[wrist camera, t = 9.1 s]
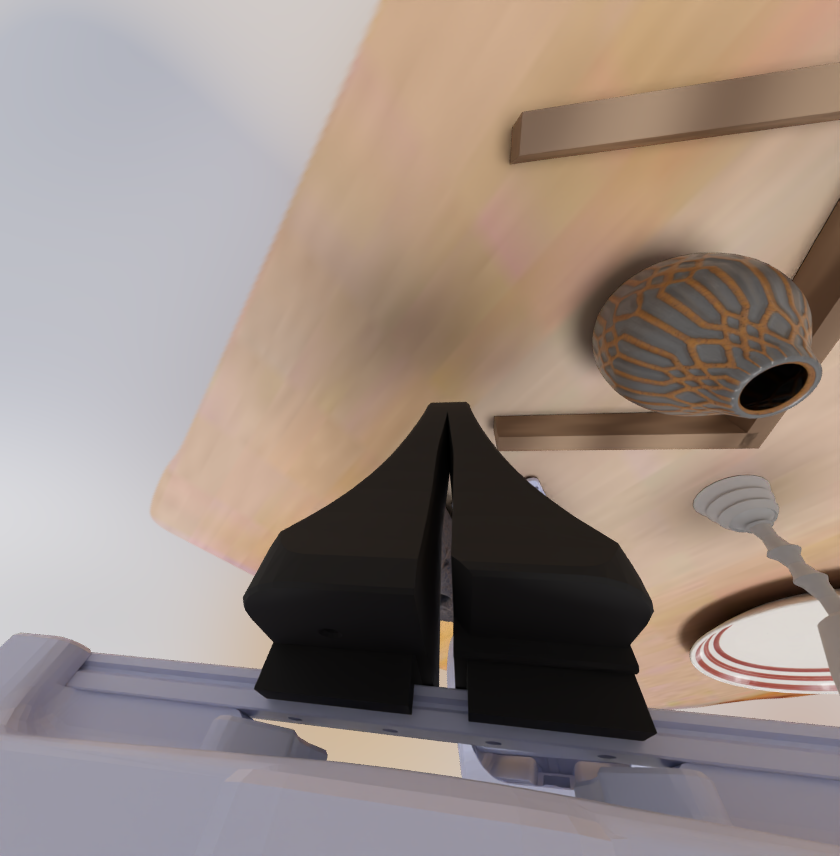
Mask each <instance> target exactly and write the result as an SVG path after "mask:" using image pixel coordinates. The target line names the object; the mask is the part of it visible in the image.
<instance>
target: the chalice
mask: <svg viewBox="0 0 840 856" xmlns="http://www.w3.org/2000/svg"><path fill="white" fill-rule="evenodd" d="M693 507H694V509H695V510H696V512H698V513H700V514H701V515H704V516H706V517H708V518H709V519H710V520H712V521H713V522H716V523H718V524H720V526H722V527H724V528H726V529H729V530H733V531H737V532H748V533H753V534H754V535H756V536H757V537H759V538H760V539H761V540H762V541H763V543H764V544H765V546H766V548H767V549H768V551H767V557H768V558H770V559H774V560H777V561H779V562H780V563H782V564H783V565H785V566H786V567H788V569H789V571H790V572H791V574H792V576H793V583H794V584H795V585H797V586H799V587H802V588H804V589H805V590H806V591H807V592H809V593H810V594H811V595H812V596H814V597H815V598H816V599H817V600H819V601H820V603H821V604H822V606H823V607H824V609H825V610H826V612H827V613H828V615H829V616H827V617H825V618H824V619H823V620H822V621H820V622H819V623H818V625H817V627H818V631H819V634H820V638H821V641H822V645H823V648H824V652H825V656H826V659H827V663H828V666H829V670H830V673H831V676H832V678H833V681H834V683H835V685H836V687H837V690H838V692H839V694H840V597H839V596H838V594H837V593H836V592H835V590H834V589H833V587H832V586H831V585H830V583H829V578H828V575H826V574H824V573H822V572H819V571H817V570H815V569H814V568H812V567H811V566H809V565H808V564H806V563H805V561H804V560H803V558H802V556H801V555H800V554H801V547H800V546H798V545H794V544H790V543H788V542H787V541H785V540H784V539H782V538H781V537H779V536H778V535H777V534H776V532H775V531H774V529H773V528H772V526H773V524H774V521H775V520H776V519H777V517H778V513H779V506H778V504H777V503H776V501H775V496H774V494H773V493H772V492H771V486H770V484H769V482H768V481H767V480H765V479H764V478H762V477H758V476H754V475H740V476H735V477H730V478H726V479H723V480H720V481H718V482H715V483H713V484H711V485H710V486H708V487H706V488H705V489H703V490H702V491H701V492H700V493H699V494H698V495H697V496H696V498H695V500H694V504H693Z"/></svg>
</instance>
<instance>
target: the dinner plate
mask: <svg viewBox="0 0 840 856" xmlns="http://www.w3.org/2000/svg"><path fill="white" fill-rule="evenodd" d="M834 590H835V592H836V593H837V594H838V596H839V597H840V589H834ZM827 616H829V615H828V613H827V612H826V610H825V609H824V607H823V606H822V604H821V603H820V601H819V600H817V599H816V598H815V597H814V596H812V595H811V594H810V593H805V594H800V595H795V596H790V597H786V598H782V599H779V600H775V601H772V602H769V603H765V604H763V605H760V606H757V607H755V608H752V609H750V610H748V611H746V612H744V613H742V614H740V615H738V616H735V617H733V618H731V619H729V620H727V621H725V622H724V623H722V624H720V625H719V626H717V627H716V628H714V629H712V630H711V631H709V632H707V633H706V634H705V635H703V636H702V637H700V638H699V639H698V640H697V641H696V642H695V643H694V645H693V646H692V648H691V650H690V654H689V655H690V660H691V662H692V664H693V665H694V667H695V668H696V669H698V670H699V671H700V672H702V673H703V674H705V675H707V676H709V677H711V678H713V679H715V680H718V681H721V682H724V683H728V684H731V685H735V686H740V687H745V688H750V689H757V690H765V691H774V692H784V693H804V694H839V692H838V690H837V687H836V685H835V683H834V681H833V678H832V676H831V673H830V670H829V666H828V663H827V659H826V656H825V652H824V648H823V645H822V641H821V638H820V634H819V631H818V627H817V625H818V623H819V622H820V621H822V620H823V619H824V618H825V617H827Z"/></svg>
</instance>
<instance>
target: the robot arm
mask: <svg viewBox="0 0 840 856" xmlns="http://www.w3.org/2000/svg"><path fill="white" fill-rule="evenodd" d="M449 474H450V480H451V491H452V501H453V502H452V508H453V511H452V542H451V568H452V593H453V637H452V639H451V641H450V645H449V651H448V661H447V684H448V688H444V687H439V653H440V599H441V558H442V533H443V522H444V514H445V506H446V498H447V490H448V482H449ZM535 486H536V487H535ZM243 603H244V608H245V610H246V612H247V613H248V615H249V616H250V617H251V618H252V620H253V621H254V622H255V623H256V624H257V625H258V626H259V627H260V628H261V629H262V630H263V632H264V633H265V634H266V635H267V636H268V637H269V638H270V639H271V640H272V641H273V645H272V647H271V649H270V651H269V654H268V656H267V659H266V661H265V663H264V666H263V668H262V669H254V668H244V667H234V666H224V665H213V664H204V663H194V662H183V661H174V660H164V659H154V658H143V657H134V656H124V655H114V654H104V653H94V652H91V651H90V649H89V648H87V647H85V646H84V645H82V644H80V643H78V642H75V641H73V640H70V639H67V638H63V637H58V636H51V635H40V634H39V635H38V634H29V633H18V634H15V635H13V636H12V637H11V638H10V639H8V640H7V641H6V643H4V644H3V645H2V646H1V647H0V856H840V727H835V726H825V725H815V724H805V723H795V722H784V721H775V720H765V719H755V718H745V717H735V716H724V715H714V714H705V713H695V712H685V711H675V710H665V709H655V708H647V705H646V703H645V700H644V697H643V695H642V692H641V690H640V687H639V685H638V682H637V680H636V677H635V674H638V673H639V665H638V663H637V660H636V658H635V656H634V653H633V651H632V648H631V646H630V644H631V643H632V642H633V641H634V640H635V638H636V637H637V636H638V635H639V634H640V632H641V631H642V630H643V629H644V628H645V627H646V625H647V624H648V622H649V620H650V618H651V616H652V614H653V612H654V610H653V604H652V600H651V598H650V596H649V594H648V593H647V591H646V589H645V587H644V585H643V583H642V581H641V579H640V577H639V575H638V574H637V572H636V570H635V569H634V567H633V565H632V564H631V562H630V561H629V559H628V558H627V556H626V555H625V553H624V552H623V550H622V549H621V547H620V546H619V544H618V543H617V542H615V541H614V540H612V539H610V538H609V537H607V536H605V535H604V534H602V533H600V532H599V531H597V530H595V529H594V528H592V527H591V526H589V525H587V524H586V523H584V522H582V521H581V520H579V519H577V518H576V517H574V516H573V515H571V514H570V513H569V512H567V511H566V510H564V509H563V508H561V507H560V506H559V505H557V504H556V503H554V502H553V501H552V500H550V499H549V498H548V497H547V496H546V494H545V492H544V490H543V488H542V486H541V484H540V482H539V480H538V479H537V478H528V479H525V478H524V477H523V476H522V475H521V474H520V473H518V472H517V471H516V470H515V469H514V468H513V466H512V465H511V464H510V463H509V462H508V461H507V460H506V459H505V458H504V457H503V456H502V455H501V453H500V452H499V451H498V450H497V449H496V447H495V446H494V445H493V444H492V442H491V441H490V440H489V438H488V437H487V435H486V434H485V432H484V431H483V430H482V428H481V427H480V425H479V423H478V422H477V420H476V418H475V417H474V415H473V413H472V411H471V408H470V405H469V404H468V403H467V402H449V403H448V402H446V403H430V404H429V405H428V407H427V409H426V410H425V412H424V414H423V415H422V417H421V418H420V420H419V421H418V423H417V424H416V426H415V427H414V428H413V430H412V431H411V432H410V434H409V435H408V436H407V438H406V439H405V440H404V441H403V442H402V443H401V445H400V446H399V447H398V448H397V449H396V450H395V451H394V453H393V454H392V455H391V456H390V457H389V458H388V459H387V460H386V461H385V462H384V463H383V464H382V465H381V466H379V467H378V468H377V469H376V470H375V471H374V472H373V473H372V474H370V475H369V476H368V477H367V478H365V479H364V480H363V481H362V482H360V483H359V484H358V485H357V486H355V487H354V488H353V489H351V490H350V491H348V492H347V493H346V494H344V495H343V496H341V497H340V498H338V499H337V500H335V501H334V502H332V503H330V504H329V505H327V506H326V507H324V508H322V509H321V510H319V511H317V512H316V513H314V514H312V515H310V516H308V517H307V518H305V519H303V520H301V521H299V522H298V523H296V524H294V525H292V526H290V527H289V528H287V529H285V530H283V531H281V532H280V533H279V535H278V537H277V538H276V540H275V541H274V543H273V544H272V546H271V547H270V549H269V551H268V552H267V554H266V556H265V558H264V560H263V562H262V563H261V565H260V567H259V569H258V571H257V573H256V574H255V576H254V578H253V580H252V582H251V584H250V586H249V587H248V589H247V591H246V593H245V595H244V596H243ZM252 718H256V719H265V720H273V721H281V722H289V723H298V724H305V725H313V726H321V727H330V728H338V729H346V730H354V731H362V732H371V733H378V734H387V735H394V736H403V737H411V738H419V739H427V740H435V741H443V742H451V743H458V750H459V757H460V766H461V775H462V778H459V777H452V776H446V775H438V774H431V773H423V772H416V771H409V770H402V769H395V768H387V767H378V766H369V765H361V764H353V763H345V762H334V761H326V760H327V752H326V750H324V749H322V748H319V747H317V746H314V745H312V744H309V743H308V742H306V741H305V740H303V739H301V738H300V737H298V735H297V734H296V732H295V731H294V730H292V729H288V728H284V727H280V726H276V725H271V724H267V723H263V722H258V721H254V720H253V719H252Z"/></svg>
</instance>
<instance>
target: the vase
mask: <svg viewBox="0 0 840 856" xmlns="http://www.w3.org/2000/svg"><path fill="white" fill-rule="evenodd" d="M592 344H593V354H594V358H595V361H596V364H597V367H598V369H599V370H600V372H601V374H602V375H603V377H604V378H605V380H606V381H607V382H608V383H609V384H610V386H611V387H612V388H613V389H614V390H615V391H616V392H618V393H619V394H620V395H621V396H623V397H624V398H626V399H627V400H629V401H631V402H633V403H635V404H637V405H639V406H641V407H644V408H646V409H649V410H652V411H655V412H658V413H663V414H667V415H674V416H709V415H721V414H727V415H732V416H737V417H743V418H752V419H754V418H764V417H769V416H773V415H776V414H779V413H781V412H784V411H786V410H788V409H790V408H792V407H794V406H795V405H797V404H798V403H800V402H801V401H803V400H804V399H805V398H806V397H807V396H809V395H810V394H811V393H812V392H813V390H814V389H815V388H816V387H817V385H818V383H819V382H820V379H821V376H822V367H821V364H820V362H819V360H818V359H817V357H816V356H815V354H814V353H813V351H812V349H811V344H812V315H811V311H810V308H809V304H808V301H807V299H806V297H805V296H804V294H803V293H802V291H801V290H800V288H799V287H798V286H797V285H796V284H795V283H794V282H793V281H792V280H791V279H790V278H788V277H787V276H786V275H785V274H783V273H782V272H781V271H779V270H777V269H776V268H774V267H772V266H771V265H769V264H767V263H764V262H762V261H759V260H757V259H754V258H750V257H746V256H741V255H736V254H727V253H695V254H689V255H683V256H679V257H674V258H671V259H668V260H665V261H662V262H659V263H657V264H654V265H652V266H650V267H648V268H646V269H644V270H642V271H641V272H639V273H637V274H636V275H634V276H633V277H631V278H630V279H628V280H627V281H626V282H625V283H623V284H622V285H621V286H620V287H619V288H618V289H617V290H616V291H615V292H614V293H613V294H612V295H611V296H610V298H609V299H608V300H607V302H606V303H605V304H604V306H603V308H602V309H601V311H600V313H599V315H598V318H597V320H596V323H595V327H594V331H593V339H592Z"/></svg>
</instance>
